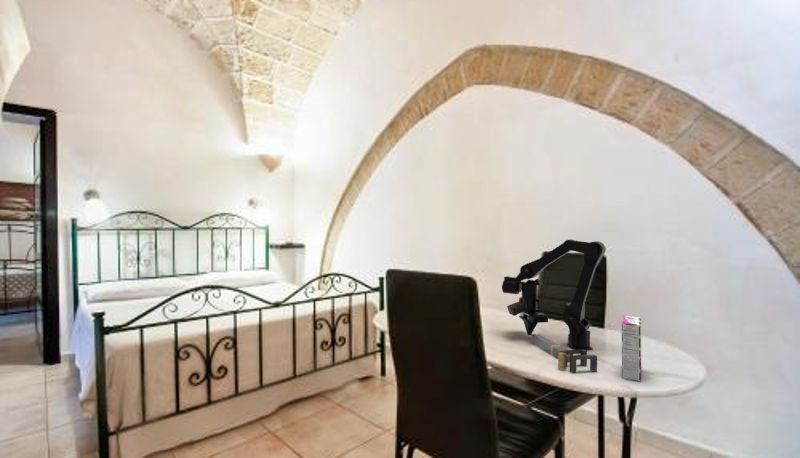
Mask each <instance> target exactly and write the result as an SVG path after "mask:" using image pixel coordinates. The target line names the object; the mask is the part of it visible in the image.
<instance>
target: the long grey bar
mask: <svg viewBox="0 0 800 458" xmlns="http://www.w3.org/2000/svg"><path fill="white" fill-rule="evenodd" d="M530 337H531V340H530V341H531V344H532V345H535V346H536V347H537V348H539V349H541V350H543V351H544V352H545V353H547V354H549V355H550V356H552V357H554V358H555V359H556V360H558V353H561V350H568V349H567V348H565V347H563V346H562V345H560V344H559V343H556V342H554V341H553V340H552V339H549V338H548V337H545V336H543V335H542V334H540V333H532V334H531V336H530ZM567 355H571V356H572V355H574V354H567ZM568 363H569V364H570V358H567V364H568Z"/></svg>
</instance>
